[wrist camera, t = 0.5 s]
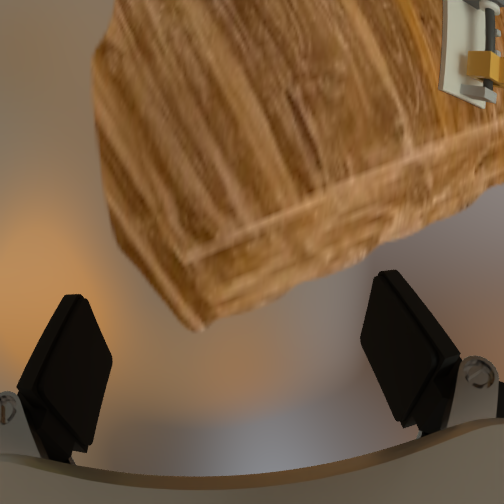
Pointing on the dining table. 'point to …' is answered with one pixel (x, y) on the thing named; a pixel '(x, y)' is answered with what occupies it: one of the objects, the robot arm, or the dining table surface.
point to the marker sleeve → (486, 67)
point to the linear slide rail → (467, 47)
